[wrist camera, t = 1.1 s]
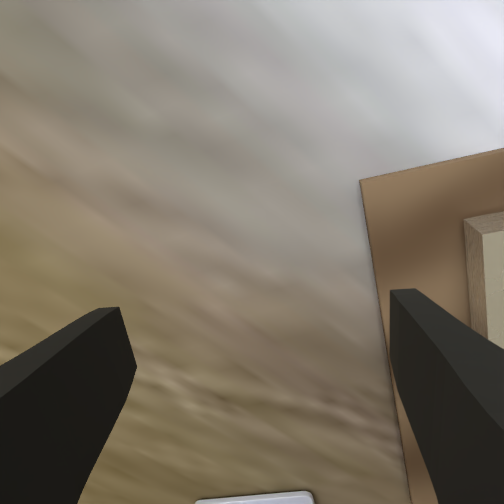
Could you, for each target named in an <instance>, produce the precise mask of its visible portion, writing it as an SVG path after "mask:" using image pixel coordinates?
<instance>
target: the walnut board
mask: <svg viewBox="0 0 504 504" xmlns="http://www.w3.org/2000/svg"><path fill="white" fill-rule="evenodd" d="M359 181H360V187H361V194H362V200H363V206H364V212H365V218H366V225H367V231H368V237H369V243H370V250H371V256H372V262H373V268H374V274H375V281H376V287H377V293H378V299H379V305H380V312H381V318H382V324H383V330H384V336H385V343H386V349H387V355H388V361H389V367H390V374H391V380H392V386H393V392H394V398H395V405H396V411H397V417H398V423H399V429H400V436H401V442H402V448H403V454H404V460H405V467H406V473H407V479H408V485H409V491H410V498H411V502H412V504H438V500H437V497H436V494H435V491H434V488H433V485H432V482H431V479H430V476H429V473H428V470H427V468H426V465H425V462H424V460H423V457H422V455H421V452H420V449H419V447H418V444H417V441H416V439H415V436H414V433H413V431H412V428H411V426H410V423H409V420H408V418H407V415H406V412H405V410H404V407H403V404H402V401H401V399H400V396H399V393H398V390H397V386H396V382H395V378H394V374H393V369H392V365H391V361H390V356H389V351H390V290H394V289H410V288H416V289H417V290H419V291H420V292H422V293H423V294H424V295H426V296H427V297H428V298H430V299H431V300H432V301H434V302H435V303H436V304H438V305H439V306H440V307H442V308H443V309H444V310H446V311H447V312H449V313H450V314H451V315H453V316H454V317H455V318H457V319H458V320H460V321H461V322H463V323H464V324H465V325H467V326H468V327H470V328H471V317H470V303H469V290H468V276H467V262H466V248H465V235H464V221H463V219H466V218H471V217H477V216H482V215H487V214H492V213H497V212H502V211H504V148H501V149H497V150H492V151H488V152H483V153H479V154H474V155H470V156H465V157H461V158H456V159H452V160H447V161H443V162H438V163H434V164H429V165H425V166H420V167H416V168H411V169H407V170H402V171H398V172H393V173H389V174H384V175H380V176H375V177H371V178H366V179H361V180H359Z"/></svg>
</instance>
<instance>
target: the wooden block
mask: <svg viewBox="0 0 504 504" xmlns="http://www.w3.org/2000/svg"><path fill="white" fill-rule="evenodd" d="M463 221H464V235H465V248H466V262H467V276H468V290H469V303H470V317H471V329H473V330H474V331H476V332H477V333H479V334H480V335H482V336H483V337H485V338H486V339H488V340H490V341H491V342H493V343H494V344H496V345H498V346H499V347H501V348H503V349H504V211H502V212H497V213H492V214H487V215H482V216H477V217H471V218H466V219H463Z"/></svg>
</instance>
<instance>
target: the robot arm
mask: <svg viewBox="0 0 504 504" xmlns="http://www.w3.org/2000/svg"><path fill="white" fill-rule="evenodd" d="M389 356H390V361H391V365H392V369H393V374H394V378H395V382H396V386H397V390H398V393H399V396H400V399H401V401H402V404H403V407H404V410H405V412H406V415H407V418H408V420H409V423H410V426H411V428H412V431H413V433H414V436H415V439H416V441H417V444H418V447H419V449H420V452H421V455H422V457H423V460H424V462H425V465H426V468H427V470H428V473H429V476H430V479H431V482H432V485H433V488H434V491H435V494H436V497H437V500H438V504H504V349H503V348H501V347H499V346H498V345H496V344H494V343H493V342H491V341H490V340H488V339H486V338H485V337H483V336H482V335H480V334H479V333H477V332H476V331H474V330H473V329H471V328H470V327H468V326H467V325H465V324H464V323H463V322H461V321H460V320H458V319H457V318H455V317H454V316H453V315H451V314H450V313H449V312H447V311H446V310H444V309H443V308H442V307H440V306H439V305H438V304H436V303H435V302H434V301H432V300H431V299H430V298H428V297H427V296H426V295H424V294H423V293H422V292H420V291H419V290H417V289H416V288H410V289H394V290H390V351H389ZM136 368H137V365H136V361H135V358H134V355H133V351H132V348H131V345H130V341H129V338H128V335H127V331H126V328H125V325H124V321H123V318H122V315H121V311H120V308H119V307H109V308H98V309H96V310H94V311H91V312H90V313H88V314H86V315H84V316H82V317H80V318H79V319H77V320H75V321H74V322H72V323H70V324H69V325H67V326H66V327H64V328H62V329H61V330H59V331H57V332H56V333H54V334H53V335H51V336H49V337H48V338H46V339H45V340H43V341H41V342H40V343H38V344H36V345H35V346H33V347H32V348H30V349H28V350H27V351H25V352H23V353H21V354H20V355H18V356H16V357H15V358H13V359H11V360H9V361H8V362H6V363H4V364H3V365H1V366H0V504H77V503H78V500H79V498H80V495H81V493H82V491H83V488H84V486H85V484H86V482H87V479H88V477H89V475H90V473H91V471H92V469H93V467H94V465H95V463H96V461H97V459H98V457H99V455H100V453H101V451H102V449H103V447H104V445H105V443H106V441H107V439H108V437H109V435H110V433H111V431H112V429H113V427H114V425H115V422H116V420H117V418H118V416H119V414H120V412H121V410H122V408H123V406H124V404H125V401H126V399H127V396H128V394H129V391H130V388H131V385H132V382H133V378H134V375H135V372H136ZM195 504H315V503H314V499H313V496H312V494H311V493H310V492H308V491H296V492H284V493H273V494H262V495H251V496H240V497H228V498H217V499H206V500H198V501H196V502H195Z"/></svg>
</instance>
